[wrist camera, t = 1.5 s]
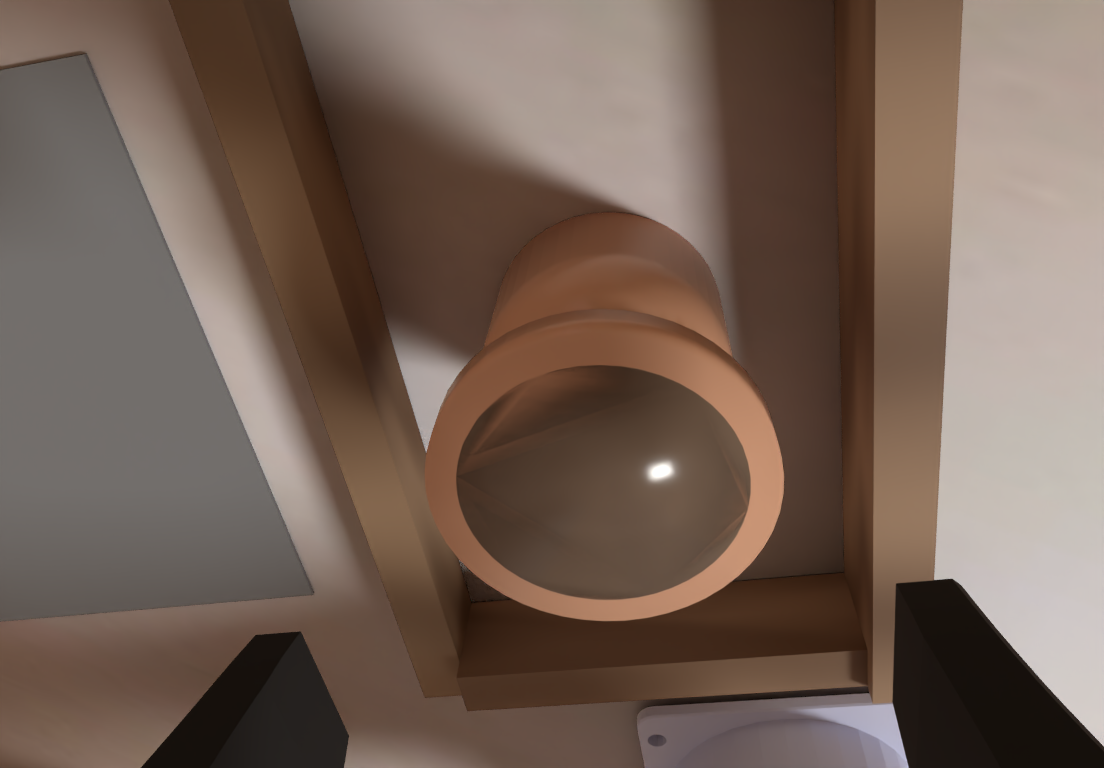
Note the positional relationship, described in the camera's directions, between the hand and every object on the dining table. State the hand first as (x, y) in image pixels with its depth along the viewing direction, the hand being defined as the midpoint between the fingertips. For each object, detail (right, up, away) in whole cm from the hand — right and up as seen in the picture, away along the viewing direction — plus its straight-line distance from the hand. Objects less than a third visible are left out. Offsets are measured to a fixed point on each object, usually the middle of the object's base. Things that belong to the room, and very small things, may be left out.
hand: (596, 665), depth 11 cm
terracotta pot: (+1, +5, +8) cm, 10 cm away
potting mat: (-13, +3, +10) cm, 17 cm away
